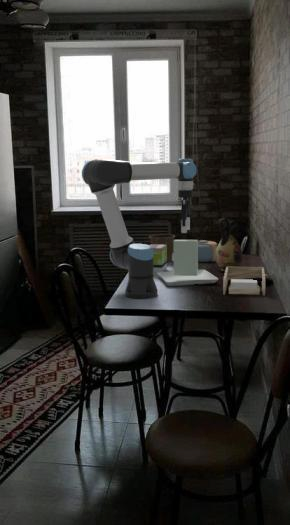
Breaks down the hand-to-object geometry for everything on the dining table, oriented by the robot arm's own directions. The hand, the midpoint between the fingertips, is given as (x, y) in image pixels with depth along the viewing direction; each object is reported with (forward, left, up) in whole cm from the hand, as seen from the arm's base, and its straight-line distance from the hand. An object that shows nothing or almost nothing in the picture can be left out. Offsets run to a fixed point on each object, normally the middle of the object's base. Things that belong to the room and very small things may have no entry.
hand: (185, 231), depth 271 cm
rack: (-12, -30, -26) cm, 41 cm away
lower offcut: (-23, -30, -27) cm, 46 cm away
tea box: (+24, +20, -26) cm, 41 cm away
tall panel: (0, 0, -23) cm, 23 cm away
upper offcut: (-23, -30, -24) cm, 44 cm away
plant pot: (+57, +22, -26) cm, 67 cm away
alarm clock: (+66, -3, -26) cm, 71 cm away
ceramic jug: (+30, -20, -26) cm, 45 cm away
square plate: (0, 0, -27) cm, 27 cm away
